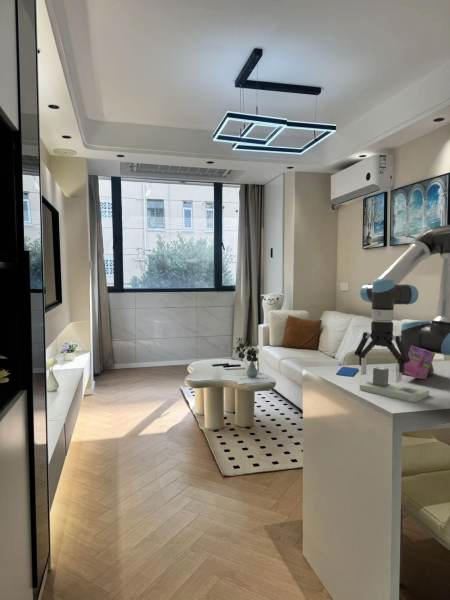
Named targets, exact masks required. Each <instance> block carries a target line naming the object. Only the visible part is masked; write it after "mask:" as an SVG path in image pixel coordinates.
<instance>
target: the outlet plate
mask: <svg viewBox="0 0 450 600" xmlns="http://www.w3.org/2000/svg"><path fill="white" fill-rule="evenodd" d="M359 391H363V392H367V393H372V394H376V395H381V396H386V397H389V398H393V399H394V398H395V399H398V400H402V401H407V402H411V403H417V402H419V401H421V400H423V399H425V398H427V397H429V396H430V389H427V388H421V387H416V386H411V385H406V384H401V383H398V382H391V381H388V386H386V387H380V386H376V385H373V379H372V380H369V381H366V382H364V383H361V384H359Z"/></svg>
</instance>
